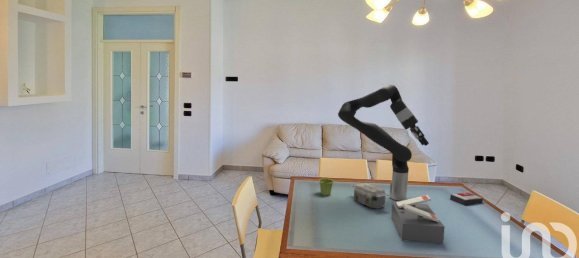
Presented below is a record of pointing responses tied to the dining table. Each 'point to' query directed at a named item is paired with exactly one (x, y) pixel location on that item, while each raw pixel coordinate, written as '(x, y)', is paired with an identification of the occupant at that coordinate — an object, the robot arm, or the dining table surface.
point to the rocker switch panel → (417, 225)
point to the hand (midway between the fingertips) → (425, 144)
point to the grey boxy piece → (369, 195)
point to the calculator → (466, 198)
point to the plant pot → (326, 186)
